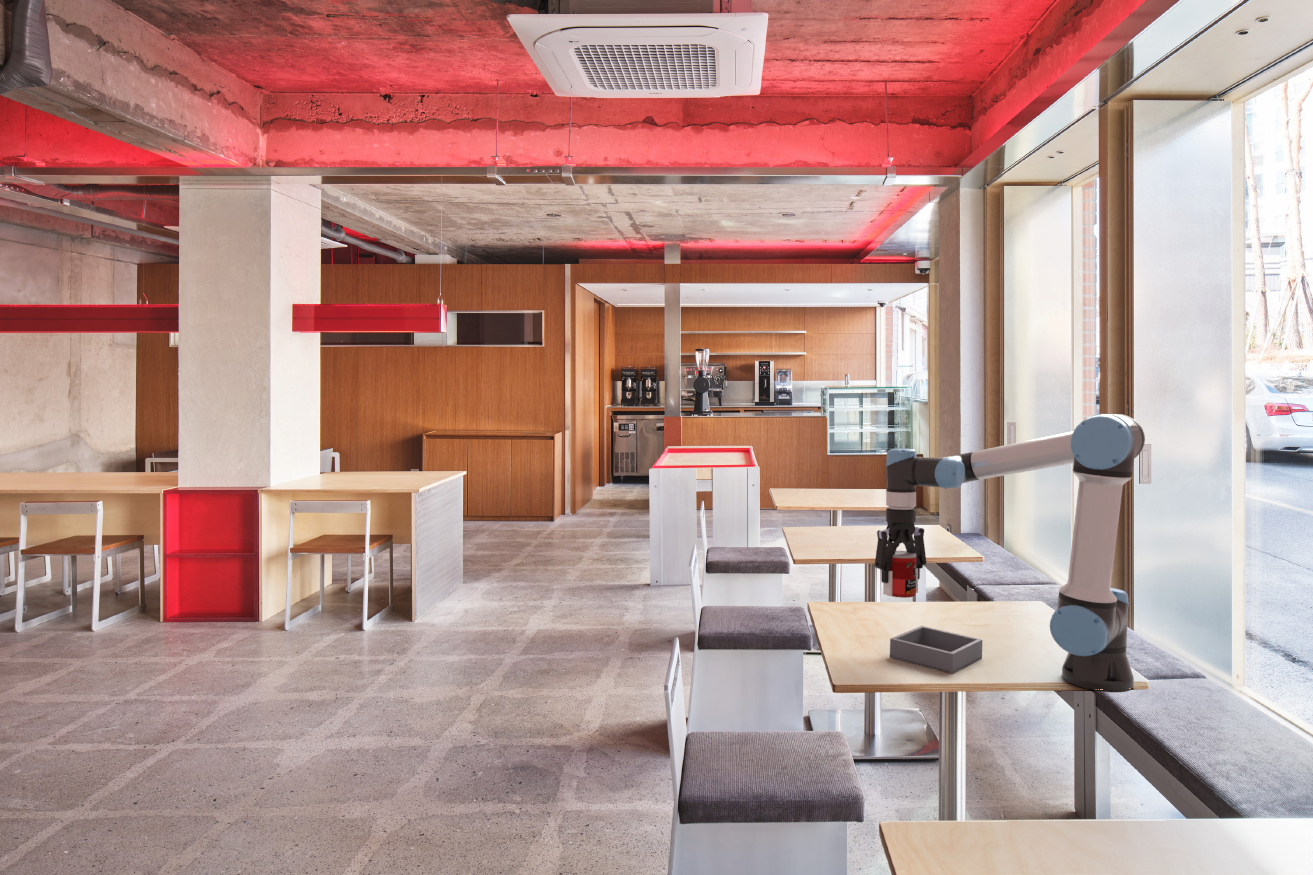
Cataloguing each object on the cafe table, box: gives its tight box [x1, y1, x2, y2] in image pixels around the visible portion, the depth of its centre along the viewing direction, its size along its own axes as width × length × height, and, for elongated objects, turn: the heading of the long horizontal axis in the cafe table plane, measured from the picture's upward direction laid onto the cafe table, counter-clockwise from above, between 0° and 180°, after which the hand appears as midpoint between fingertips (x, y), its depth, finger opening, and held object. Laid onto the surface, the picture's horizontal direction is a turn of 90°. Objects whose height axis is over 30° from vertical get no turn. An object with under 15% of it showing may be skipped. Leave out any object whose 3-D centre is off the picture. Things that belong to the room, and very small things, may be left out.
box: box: [889, 625, 983, 675], centre depth 210 cm, size 17×17×5 cm
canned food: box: [890, 550, 917, 599], centre depth 212 cm, size 8×8×11 cm
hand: (900, 593), depth 212 cm, fingers closed on canned food, 8 cm apart
